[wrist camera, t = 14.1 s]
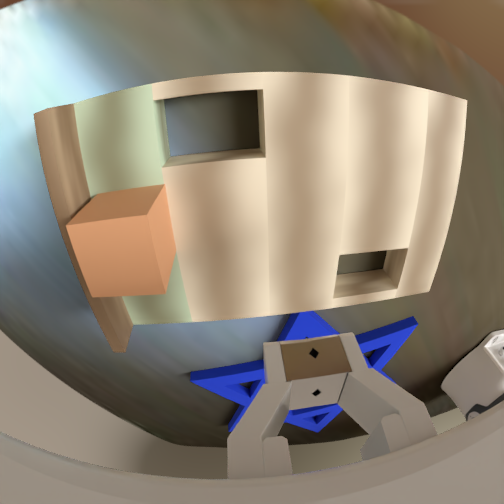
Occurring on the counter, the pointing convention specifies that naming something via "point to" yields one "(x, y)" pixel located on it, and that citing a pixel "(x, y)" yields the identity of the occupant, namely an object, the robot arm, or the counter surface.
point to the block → (125, 242)
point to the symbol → (298, 328)
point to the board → (269, 192)
